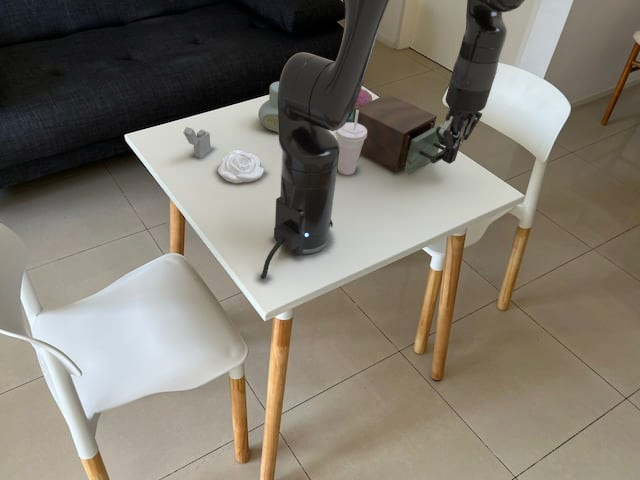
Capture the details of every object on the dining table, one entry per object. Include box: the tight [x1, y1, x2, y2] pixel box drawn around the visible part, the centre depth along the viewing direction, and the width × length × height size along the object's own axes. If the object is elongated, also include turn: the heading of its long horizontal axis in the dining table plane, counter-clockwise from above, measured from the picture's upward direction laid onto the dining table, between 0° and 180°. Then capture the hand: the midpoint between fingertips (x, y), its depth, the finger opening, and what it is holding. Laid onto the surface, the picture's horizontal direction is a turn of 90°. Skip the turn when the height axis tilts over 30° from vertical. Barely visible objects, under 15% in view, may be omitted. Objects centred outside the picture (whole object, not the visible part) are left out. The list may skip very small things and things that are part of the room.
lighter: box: [182, 126, 212, 159], centre depth 114 cm, size 7×2×8 cm, turn 151°
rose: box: [217, 149, 265, 184], centre depth 111 cm, size 10×4×10 cm
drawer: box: [399, 122, 445, 175], centre depth 114 cm, size 17×10×8 cm, turn 43°
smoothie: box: [335, 110, 367, 176], centre depth 110 cm, size 6×6×14 cm
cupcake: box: [348, 88, 373, 122], centre depth 128 cm, size 9×8×12 cm
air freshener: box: [258, 80, 280, 133], centre depth 124 cm, size 11×8×10 cm
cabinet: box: [351, 93, 438, 174], centre depth 117 cm, size 14×12×10 cm
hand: (448, 161), depth 110 cm, fingers closed
